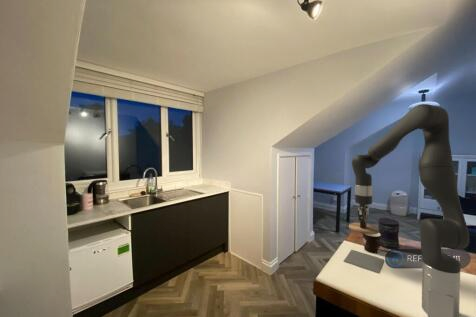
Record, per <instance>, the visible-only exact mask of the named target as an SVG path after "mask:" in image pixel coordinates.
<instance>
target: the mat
mask: <svg viewBox="0 0 476 317" xmlns="http://www.w3.org/2000/svg"><path fill="white" fill-rule="evenodd" d="M384 260H385V258H381V257H378V256H375V255H372V254H367V253H364V252H361V251H357V250H355V249H351V250H350V251H349V252H348V254H347V255H346V257H345V258H344V259H343V262H344V263H347V264H351V265H353V266H355V267H358V268H361V269H365V270H367V271H371V272H374V273H376V274H379V273H380V270H381V268H382V265H383V263H384Z"/></svg>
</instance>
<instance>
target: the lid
mask: <svg viewBox="0 0 476 317" xmlns="http://www.w3.org/2000/svg"><path fill="white" fill-rule="evenodd" d="M348 228H349V229H350V230H351V231H353V232H356V233H359V234H362V233H363V234H377V233H379V229H378V227H377V226H375V225H373V224H369V223H367V226H366V221H365V229H363V228H360V222H352V223H351V222H350V223H349V225H348ZM363 234H362V235H363Z"/></svg>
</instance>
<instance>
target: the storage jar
mask: <svg viewBox="0 0 476 317" xmlns="http://www.w3.org/2000/svg"><path fill="white" fill-rule="evenodd" d="M377 225H378V227H377V228H378V229H379V233H380V234H381V236H380V247H381V248H384V249H386V250H391V251H395V250H396V251H397V250H399V248H400V247H399V246H400V239H399V238H400V237H399V232H400V222H399V221H398V220H396V219H392V218H388V217H387V218H385V217H381V218H378V223H377Z"/></svg>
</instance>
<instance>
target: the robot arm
mask: <svg viewBox="0 0 476 317" xmlns="http://www.w3.org/2000/svg"><path fill="white" fill-rule="evenodd" d="M449 120H450V119H449V113H448V111H447V110H446V109H445V108H443V107H441V106H438V105H434V104H433V105H432V104H428V103H421V104H418V105H415V106H414V107H412V108H411V109H410V110H409V111H407V113H406V114H405V115H403V117H402V118H401V119H400V120H399V121H398V122H397V123H396V124H395V125H394V127H392V128H391V129H390V130H389V132H387V134H385V135H384V136H383V137H382V138H381V139H379V140H378V141H377V142H376V143H374V144H372V146H370V147H369V148H368V149H367V153H366V154H356V155H355V156H353V158H352V161H351V166H352V170H353V173H354V176H355V187H354V202H355V203H356V204H358V205H359V206H358V208H357V217H358V220H359V223H360V228H363V229H365V221H366V226H367V224H368V217H369V209H370V206H369V205H372V204H373V186H372V185H373V182H372V181H373V179H372V178H373V177H372V175H371V174H370V173H367V170H366V169H371V168H373V167H374V166H376V165H378V163H379V162H380V161H381V159H383V158H384V157H386V156H388V155H389V154H390V153H392V152H393V151H394V150H395V149H397V147H398V146H399V144H400V142H401V141H402V140H403V138H404V137H406V136H407V135H409V134H410V133H412V132H414V131H416V130H422V134H423V139H424V147H423V149H422V150H423V151H422V152H421V155H420V157H419V160H418V163H417V164H418V173H419V179H420V183H421V185H422V186H423V187H424V189H425V190H426V191H427V192H428V193H429V194H430V195H431V196H432V197H433V199H434V200H435V201H436V202H437V203H438V205H439V206H440V210H441V213H442V217H443V219H441V218H440V219H439V218H423V220H421V222H420V227H419V232H420V233H419V234H420V235H419V236H420V250H421V256H422V265H421V268H422V269H421V270H422V271H421V308H422V310H423V309H424V310H423V311H424V312H425V314H426V315H428V317H429V316H431V317H460V299H461V298H460V294H461V293H460V292H461V268H462V267H461V263H460V261H459V260H458V259H457V258H455V257H453V256H451V255H449V254H447V253H444V252H442V248H446V249H458V250H459V249H460V250H462V249H463V250H464V249H467V248H468V246H469V244H470V233H469V228H468V226H467V222H466V219H465V216H464V213H463V208H462V206H461V201H460V196H459V191H458V185H457V184H458V183H457V177H456V176H457V175H456V170H455V165H454V162H453V155H452V154H453V153H452V149H451V148H452V147H451V143H450V121H449Z"/></svg>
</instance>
